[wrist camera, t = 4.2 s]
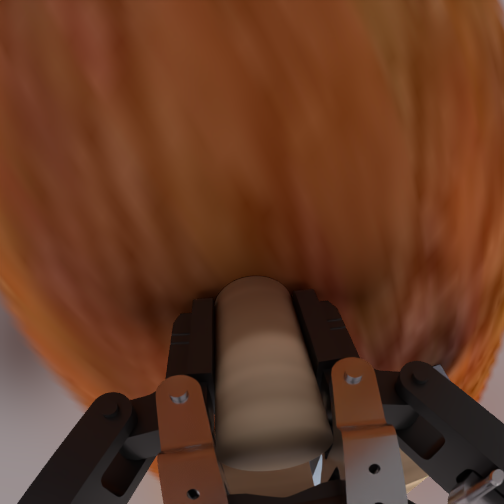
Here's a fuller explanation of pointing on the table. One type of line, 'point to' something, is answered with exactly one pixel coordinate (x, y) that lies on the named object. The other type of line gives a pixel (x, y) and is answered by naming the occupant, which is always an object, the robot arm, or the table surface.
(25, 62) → the table surface
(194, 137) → the table surface
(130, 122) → the table surface
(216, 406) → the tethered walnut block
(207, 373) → the robot arm
